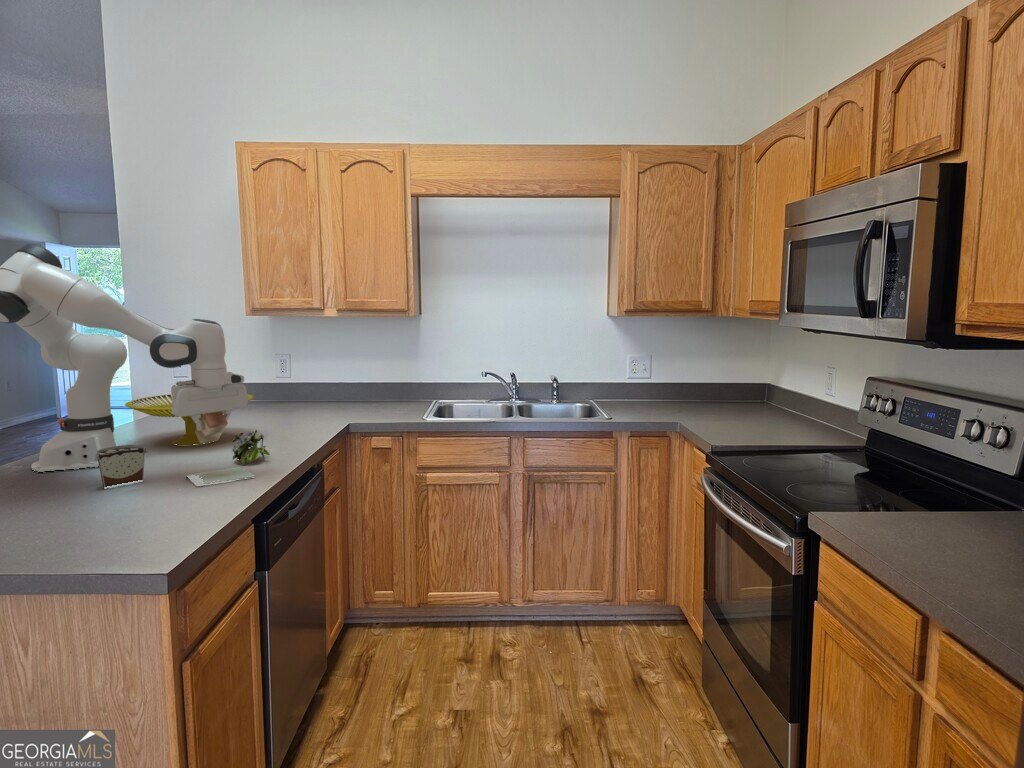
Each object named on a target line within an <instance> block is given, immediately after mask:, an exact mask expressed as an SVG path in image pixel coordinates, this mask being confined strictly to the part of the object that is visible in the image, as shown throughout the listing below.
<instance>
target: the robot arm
mask: <svg viewBox="0 0 1024 768" xmlns="http://www.w3.org/2000/svg"><path fill="white" fill-rule="evenodd" d="M0 322H1V323H3V324H15V325H17V326H19V328H21V329H22V330H23V331H25V332H26V333H27V334H28V335H29V336H31V337H32V338H33V339H34V340H36V342H38V344H39V345H40V355H41V358H42V361H43V362H44V363H45V364H46V365H47V366H49V367H52V368H55V369H58V370H63V371H74V372H76V371H77V377H76V379H75V382H74V385H72V386H71V387H69V388H68V389H67V390H66V393H65V399H66V409H67V410H66V412H67V417H65V418H63V417H61V418H58V419H57V424H58V426H59V427H60V431H59V432H58V433H57V434H56V435H54V436H53V437H51V438H50V439H49V440H48V441H46V442H45V443H44V444H43V445H42V446H41V448H40V451H39V457H38V459H39V460H36V461H34V462H33V463H31V465H30V469H31V468H32V470H34V471H38V472H43V471H54V470H64V471H66V470H65V469H74V470H80V469H79V468H85V469H87V468H86V467H95V468H98V467H97V466H99V463H98V458H97V461H95V456H96V453H97V451H98V450H100V449H103V448H108V447H113V446H117V444H116V441H115V434H114V432H115V421H114V416H113V414H112V411H111V408H112V407H111V386H112V382H113V379H114V377H115V375H116V373H117V371H118V370H119V369H120V368H121V367H122V366H124V364H125V363H126V361H127V358H128V349H127V346H126V345H125V343H124V341H122V340H121V339H119V338H116V337H113V336H110V335H105V334H87V333H86V334H85V333H81V332H78V331H77V330H75V329H74V328H73V326H74V324H77V325H80V326H84V327H87V328H92V329H93V328H94V329H104V330H111V331H114V332H118V333H121V334H124V335H126V336H128V337H130V338H132V339H134V340H136V341H138V342H140V343H142V344H144V345H146V346H148V347H149V355H150V358H151V359H152V361H153V362H154V363H155V364H157V365H158V366H160V367H163V368H166V369H177V368H180V367H183V366H186V365H188V366H190V375H191V376H190V377H191V379H190V380H185V381H182V380H180V381H176V383H174V384H173V385H172V386H171V390H170V391H171V396H172V401H171V403H172V413H173V414H174V415H175V416H179V417H180V418H181V417H183V416H190V415H191V416H192V419H193V421H194V422H195V423H196V428H197V430H199V431H200V430H205V424H204V423H201V422H200V420H199V418H201V416H200V414H204V413H211V412H218V411H222V413H223V415H224V417H225V419H226V421H227V422H228V420H229V418H230V416H231V414H232V413H231V411H233V410H238V409H239V410H240V409H244V408H246V407H247V406H248V403H249V401H248V397H247V394H248V390H247V387H246V385H245V384H244V382H245V376H244V375H242V374H238V373H233V372H231V371H228V370H227V364H226V362H225V361H226V360H225V357H226V356H225V355H226V353H227V352H226V351H227V349H226V339H225V333H224V328H223V327H222V325H221V324H220V323H218V322H216V321H213V320H209V319H202V318H193V319H191V320H190V321H189V322H187V323H186V324H184V325H183V324H182V326H180V327H176V328H166V327H164V326H162V325H159V324H157V323H156V322H153V321H151V320H149V319H147V318H146V317H144V316H142V315H139V314H137V313H136V312H134V311H132V310H130V309H129V308H127V307H126V306H124V305H123V304H122V303H121V302H119V301H118V300H116V299H115V298H113V297H112V296H110V294H108V293H107V292H106V291H104V290H103V289H102V288H99V287H98V286H97V285H95V284H94V283H92V282H91V281H88V280H87V279H85V278H82V277H81V276H79V275H77V274H74V273H73V272H71V271H69V270H67V269H63V265H62V263H61V260H60V259H59V257H58V256H57V255H56V254H54V253H53V252H52V251H51V250H49V249H47V248H46V247H43V246H41V245H38V244H30V243H28V244H27V243H26V244H25V245H23V246H21V247H20V248H18V249H17V250H16V251H15V252H14V254H13V255H11V256H10V257H9V258H8V259H6V260H5V262H3V263H2V265H0ZM179 417H178V418H179ZM227 426H228V424H227V425H226V427H227ZM32 470H31V471H32ZM34 471H33V472H34ZM38 472H37V473H38ZM54 472H55V471H54ZM43 473H44V472H43Z"/></svg>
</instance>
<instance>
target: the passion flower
mask: <svg viewBox="0 0 1024 768" xmlns="http://www.w3.org/2000/svg"><path fill="white" fill-rule="evenodd" d="M257 432H258V430H257V429H255V430H254V431H252V432H251V431H250V432H248V434H246V435H245V436H243V435H244V432H243V431H242V432H239V433H238V434H235V436H234V438H233V439H232V443H235V442H236V441H237V443H236V444H234V445H233V446H232V450H231V452H232V453H233V455H232V458H231V459H232V460H235V459H236V460H237V459H239V461H240V465H242V464H243V466H245V463H247V464H250V463H251V462H252V461H256V460H257V459H259V457H260V456H262V459H263V460H265V456H266V455H267V456H270V455H271V454H270V452H268V450H267V449H265V448H267V446H266V445H264V435H263V434H262V432H261V433H259V434H258V435H257V436H258V437H257V436H256V434H257ZM242 436H243V438H242ZM238 440H239V441H238ZM260 441H261V446H260V447H258V443H259V442H260ZM240 459H241V460H240Z"/></svg>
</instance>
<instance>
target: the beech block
mask: <svg viewBox="0 0 1024 768" xmlns="http://www.w3.org/2000/svg"><path fill="white" fill-rule="evenodd" d="M200 422H201V423H204V424H205V430H200V431H199V430H197V429H196V431H195V434H196V436H197V438H198V440H199V441H200V443H207V442H213V441H215V442H218V441H220V438H221V436H222V435H223V433H224V431H225V429H226V427H227V426H228V423H229V422H228V420H227V421H226V419H225V417H224V414H223V413H222V412H217V413H210V414H204V416H203V418H202V420H201V421H200ZM226 425H227V426H226ZM213 443H214V442H213Z"/></svg>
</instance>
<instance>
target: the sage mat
mask: <svg viewBox="0 0 1024 768" xmlns="http://www.w3.org/2000/svg"><path fill="white" fill-rule="evenodd" d="M192 474H193V475H195V476H197V475H199V478H201V477H202V478H201V479H203V482H204V483H203V484H210V483H211V482H212V483H215V482H222V481H229V480H236V479H245V478H252V477H255V478H256V476H255V475H254V474H253V473H251V472H250V471H248V470H247V469H246V468H245V467H243V466H238V467H233V468H232V467H231V468H226V469H225V468H224V469H218V470H211V471H205V472H197V473H190V474H185V477H186V476H188V475H190V476H191V475H192ZM217 480H219V481H217ZM205 481H207V482H205ZM213 481H215V482H213ZM209 482H210V483H209Z"/></svg>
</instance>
